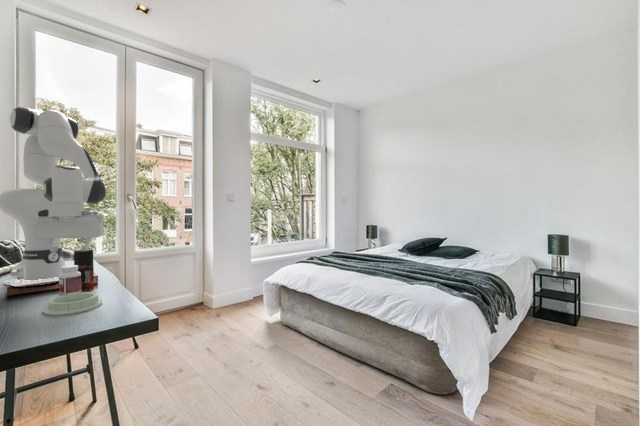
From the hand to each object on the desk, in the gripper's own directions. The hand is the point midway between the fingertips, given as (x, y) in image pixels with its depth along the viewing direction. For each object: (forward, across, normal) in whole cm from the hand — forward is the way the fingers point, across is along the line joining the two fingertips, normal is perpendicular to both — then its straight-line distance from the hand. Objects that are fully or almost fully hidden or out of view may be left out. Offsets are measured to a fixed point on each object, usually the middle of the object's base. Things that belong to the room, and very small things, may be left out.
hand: (69, 251), depth 111 cm
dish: (+17, -6, +12) cm, 21 cm away
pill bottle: (+16, 0, -1) cm, 17 cm away
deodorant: (+16, +1, -12) cm, 20 cm away
